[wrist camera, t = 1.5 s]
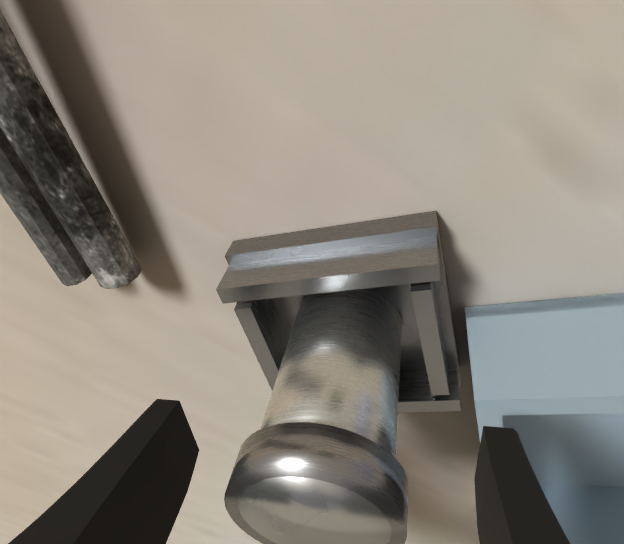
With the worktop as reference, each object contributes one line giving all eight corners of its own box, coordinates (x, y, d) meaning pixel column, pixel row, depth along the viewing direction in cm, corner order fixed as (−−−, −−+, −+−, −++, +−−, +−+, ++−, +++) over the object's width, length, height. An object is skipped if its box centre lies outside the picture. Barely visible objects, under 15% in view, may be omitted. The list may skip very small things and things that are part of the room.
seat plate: (436, 210, 13) (437, 253, 11) (459, 367, 16) (463, 417, 14) (233, 241, 15) (210, 280, 13) (291, 376, 18) (278, 421, 16)
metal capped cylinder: (400, 266, 13) (387, 468, 8) (421, 364, 15) (420, 570, 10) (271, 281, 14) (196, 466, 9) (306, 370, 16) (259, 558, 12)
